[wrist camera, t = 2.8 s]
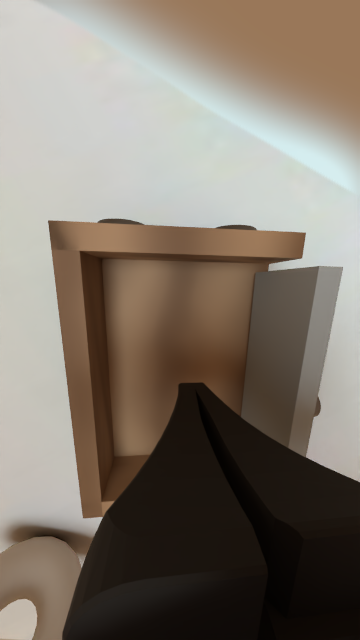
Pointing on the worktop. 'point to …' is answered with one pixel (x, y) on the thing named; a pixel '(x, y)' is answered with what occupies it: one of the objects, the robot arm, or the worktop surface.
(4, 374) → the worktop surface
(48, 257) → the worktop surface
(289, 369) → the tailgate
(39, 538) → the donut
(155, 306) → the box
